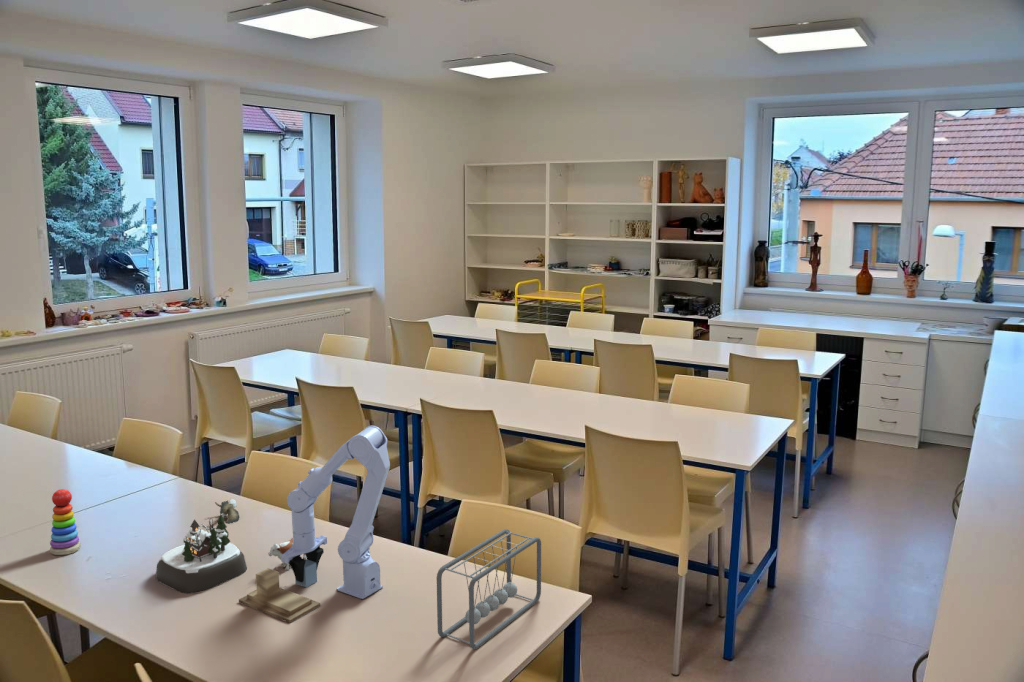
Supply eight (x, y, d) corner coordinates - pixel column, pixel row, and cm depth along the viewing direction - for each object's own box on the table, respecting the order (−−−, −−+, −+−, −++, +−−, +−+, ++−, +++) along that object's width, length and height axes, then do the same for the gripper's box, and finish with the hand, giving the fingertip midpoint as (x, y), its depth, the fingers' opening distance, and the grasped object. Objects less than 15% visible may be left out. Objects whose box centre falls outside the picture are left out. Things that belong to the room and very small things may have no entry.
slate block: (317, 581, 219) (316, 562, 218) (306, 587, 216) (305, 568, 215) (306, 577, 222) (305, 559, 221) (295, 583, 218) (294, 564, 217)
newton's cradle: (508, 589, 215) (508, 525, 212) (541, 599, 210) (542, 535, 206) (436, 639, 191) (435, 569, 188) (472, 653, 185) (471, 581, 182)
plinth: (320, 605, 206) (320, 598, 206) (290, 623, 198) (289, 615, 198) (269, 586, 217) (269, 579, 216) (238, 602, 208) (238, 595, 208)
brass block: (279, 591, 210) (278, 571, 209) (267, 598, 206) (266, 577, 205) (269, 587, 212) (268, 568, 211) (256, 593, 209) (255, 574, 208)
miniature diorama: (212, 551, 239) (208, 496, 236) (254, 569, 227) (251, 512, 224) (148, 577, 223) (143, 518, 220) (190, 598, 211) (185, 536, 208)
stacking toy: (67, 557, 234) (61, 495, 231) (43, 555, 236) (37, 493, 233) (87, 546, 242) (81, 486, 239) (63, 543, 244) (57, 484, 240)
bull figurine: (266, 573, 225) (265, 545, 223) (300, 554, 236) (299, 527, 235) (278, 576, 223) (277, 548, 221) (311, 557, 234) (310, 530, 233)
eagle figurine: (208, 514, 263) (214, 518, 256) (219, 493, 265) (225, 496, 258) (230, 522, 267) (236, 526, 259) (240, 502, 269) (247, 505, 261)
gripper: (313, 518, 224) (315, 563, 227) (272, 536, 212) (274, 584, 215) (331, 523, 221) (333, 570, 223) (290, 542, 209) (293, 591, 211)
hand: (306, 577), depth 219 cm, fingers closed on slate block, 4 cm apart
